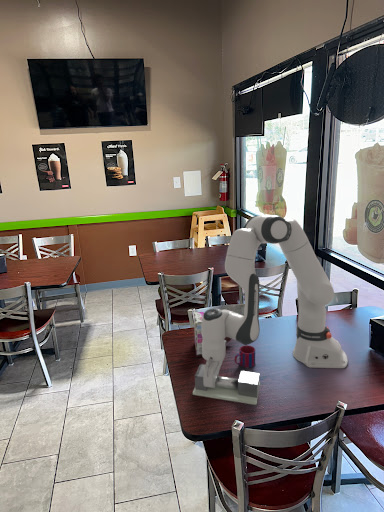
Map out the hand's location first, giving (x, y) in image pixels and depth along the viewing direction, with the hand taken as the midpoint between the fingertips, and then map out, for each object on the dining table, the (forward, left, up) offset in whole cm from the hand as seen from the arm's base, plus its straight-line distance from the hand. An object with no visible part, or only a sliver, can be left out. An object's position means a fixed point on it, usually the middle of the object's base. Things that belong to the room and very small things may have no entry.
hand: (214, 382), depth 138 cm
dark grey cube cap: (-13, 0, -1) cm, 13 cm away
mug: (-9, -18, -3) cm, 20 cm away
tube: (-2, 0, -1) cm, 2 cm away
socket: (+4, 0, -1) cm, 5 cm away
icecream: (+4, -30, -3) cm, 30 cm away
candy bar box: (+12, -26, -3) cm, 29 cm away
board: (-5, 0, -2) cm, 5 cm away
